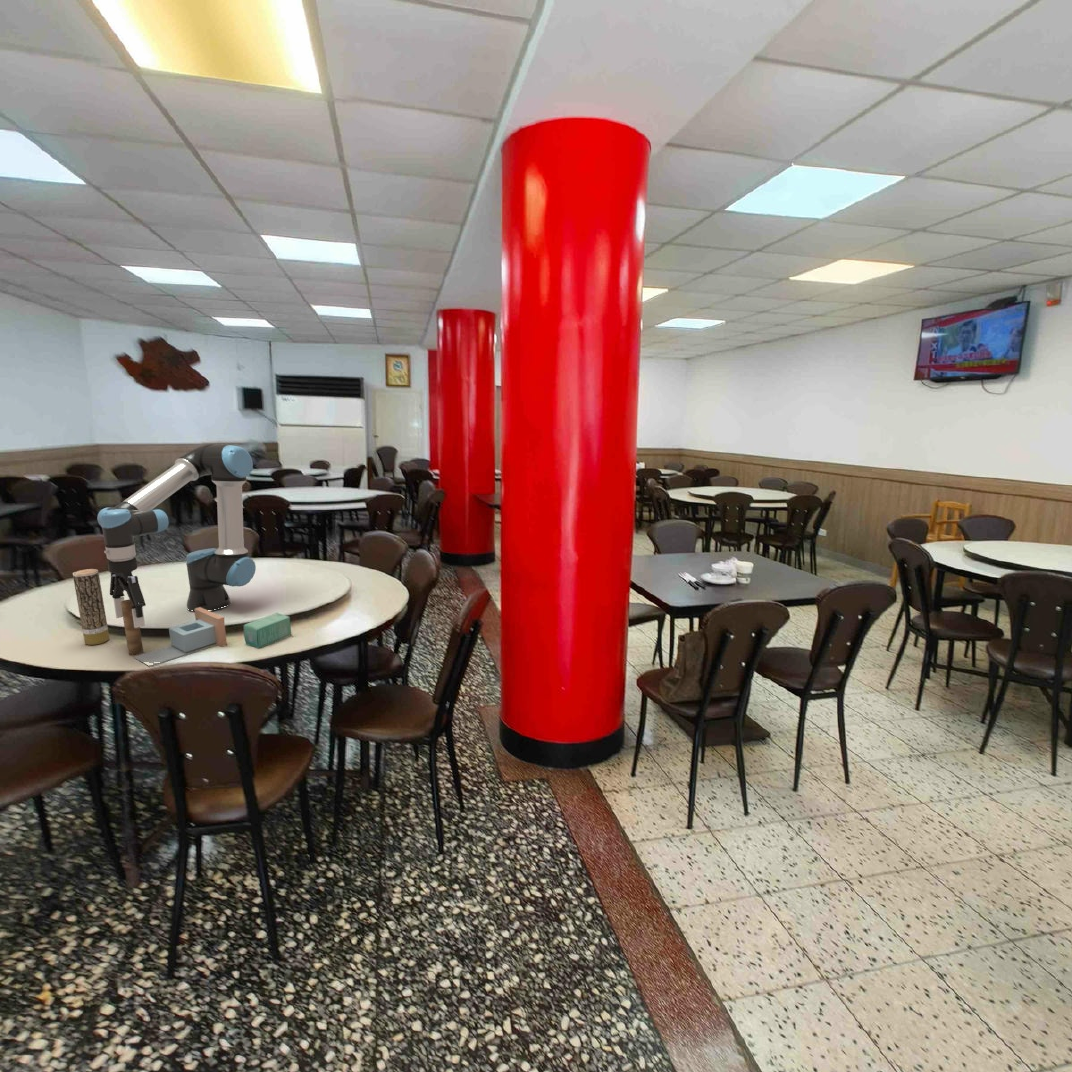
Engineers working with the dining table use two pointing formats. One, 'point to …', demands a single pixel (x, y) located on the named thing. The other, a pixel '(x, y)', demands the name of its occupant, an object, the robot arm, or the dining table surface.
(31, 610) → the dining table surface
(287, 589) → the dining table surface
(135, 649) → the dowel
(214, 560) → the robot arm
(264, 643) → the box
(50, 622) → the dining table surface
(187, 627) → the socket block
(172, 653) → the mat
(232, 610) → the dining table surface
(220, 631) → the wall
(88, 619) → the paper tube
